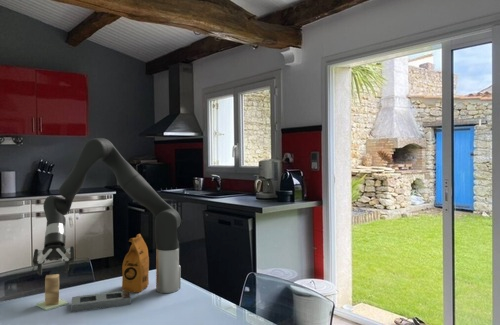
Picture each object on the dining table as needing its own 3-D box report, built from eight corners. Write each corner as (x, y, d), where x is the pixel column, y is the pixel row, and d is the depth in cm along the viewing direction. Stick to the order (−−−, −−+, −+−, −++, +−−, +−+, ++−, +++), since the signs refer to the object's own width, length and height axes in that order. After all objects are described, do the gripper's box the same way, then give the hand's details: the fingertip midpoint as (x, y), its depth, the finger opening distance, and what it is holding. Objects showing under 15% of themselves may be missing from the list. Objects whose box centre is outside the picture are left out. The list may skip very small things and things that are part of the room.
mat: (57, 299, 148) (57, 297, 148) (68, 304, 143) (68, 302, 143) (35, 305, 141) (35, 303, 141) (46, 310, 137) (46, 308, 137)
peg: (59, 300, 145) (59, 273, 145) (58, 304, 141) (58, 277, 141) (45, 302, 143) (46, 275, 143) (44, 306, 139) (45, 278, 139)
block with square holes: (127, 296, 151) (127, 290, 151) (130, 304, 143) (130, 297, 143) (72, 303, 144) (72, 296, 144) (71, 312, 135) (71, 305, 135)
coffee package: (117, 292, 156) (118, 238, 156) (130, 283, 168) (130, 233, 168) (141, 293, 155) (141, 239, 155) (152, 284, 167) (152, 233, 167)
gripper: (34, 232, 150) (30, 269, 139) (74, 230, 156) (73, 265, 145) (36, 243, 155) (32, 280, 144) (74, 241, 161) (74, 276, 150)
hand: (53, 272), depth 145 cm, fingers open, 8 cm apart
